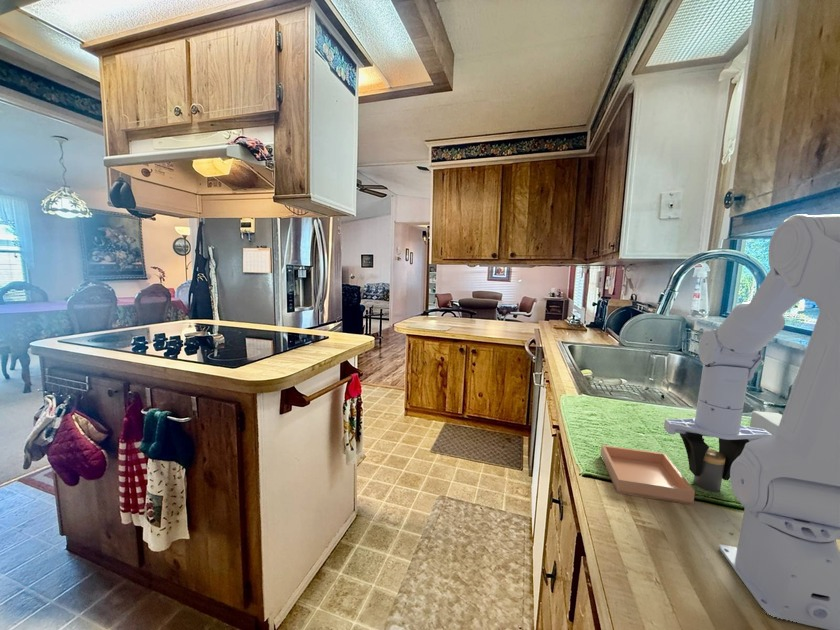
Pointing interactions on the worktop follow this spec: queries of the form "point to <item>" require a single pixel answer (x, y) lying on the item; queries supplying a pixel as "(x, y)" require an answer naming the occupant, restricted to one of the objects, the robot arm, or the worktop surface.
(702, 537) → the worktop surface
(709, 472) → the cell
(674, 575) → the worktop surface
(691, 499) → the dish
